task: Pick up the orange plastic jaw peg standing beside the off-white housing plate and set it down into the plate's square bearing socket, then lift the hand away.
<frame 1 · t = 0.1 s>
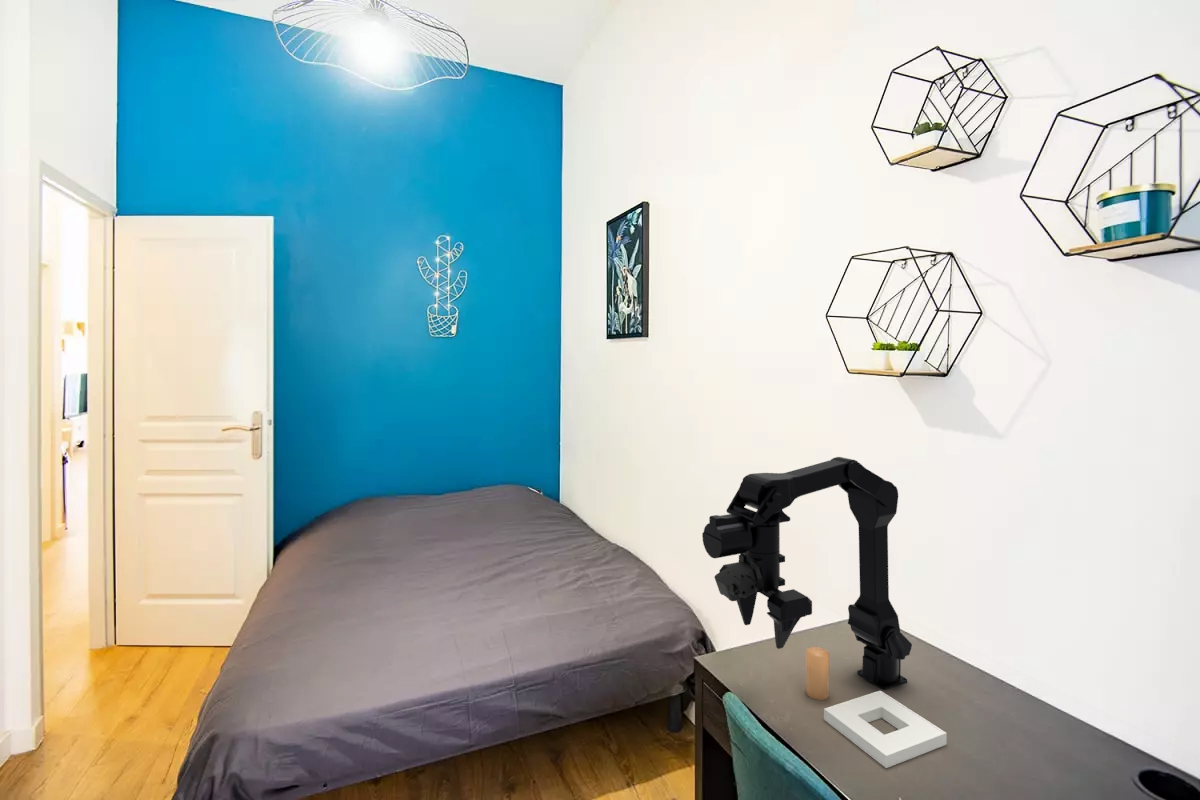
hand: (762, 635, 102), 14 cm above the table, tool pointing down, fingers open, 9 cm apart
jaw peg: (817, 693, 109), on the table
housing: (882, 731, 98), on the table
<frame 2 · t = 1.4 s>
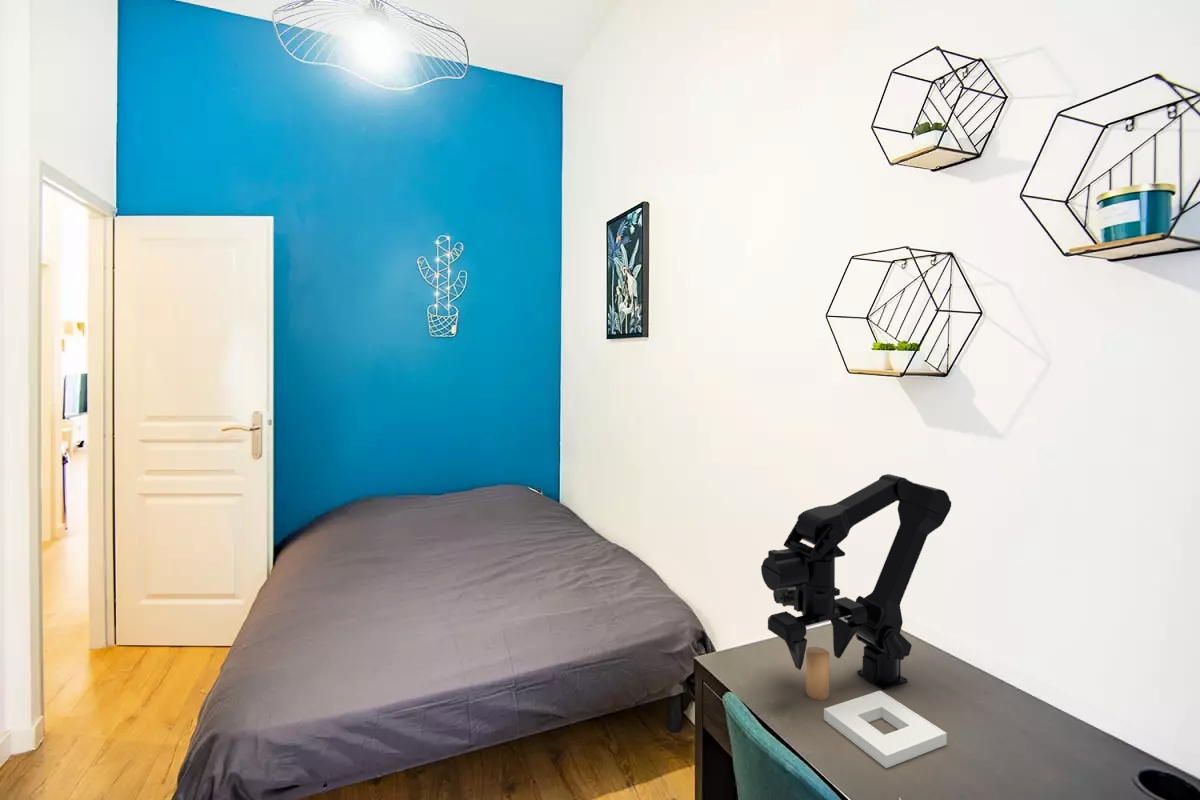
hand: (818, 662, 108), 6 cm above the table, tool pointing down, fingers open, 9 cm apart
nothing on the table moved.
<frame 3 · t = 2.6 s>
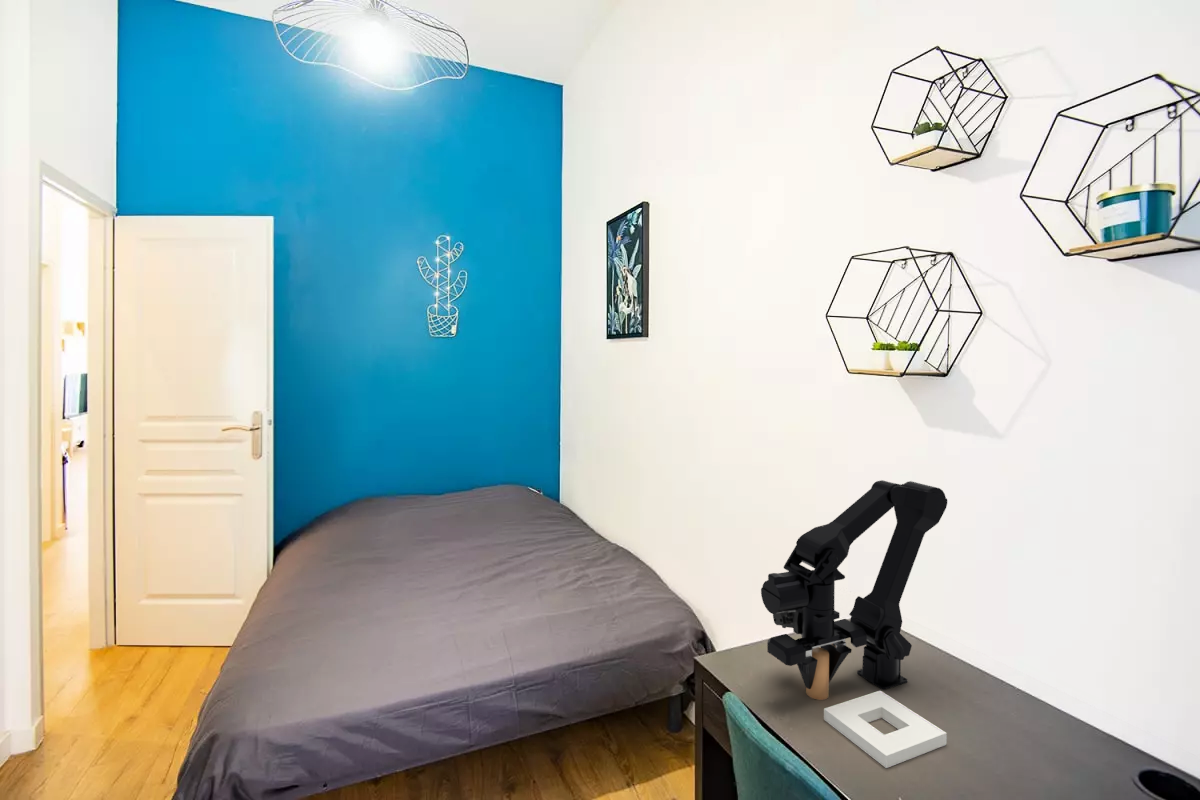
hand: (817, 685, 109), 2 cm above the table, tool pointing down, fingers closed on jaw peg, 4 cm apart
jaw peg: (817, 693, 109), on the table, touching gripper
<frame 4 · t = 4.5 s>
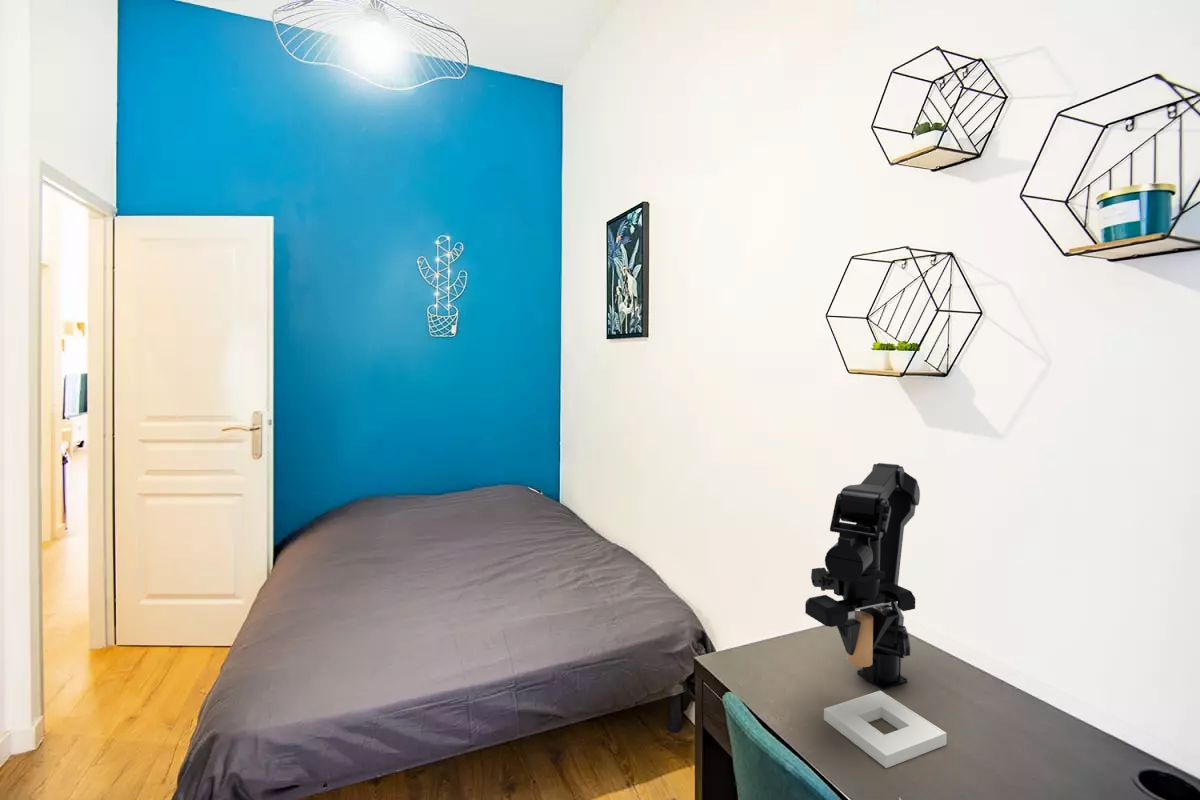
hand: (860, 651, 100), 12 cm above the table, tool pointing down, fingers closed on jaw peg, 4 cm apart
jaw peg: (859, 660, 100), point 10 cm above the table, touching gripper
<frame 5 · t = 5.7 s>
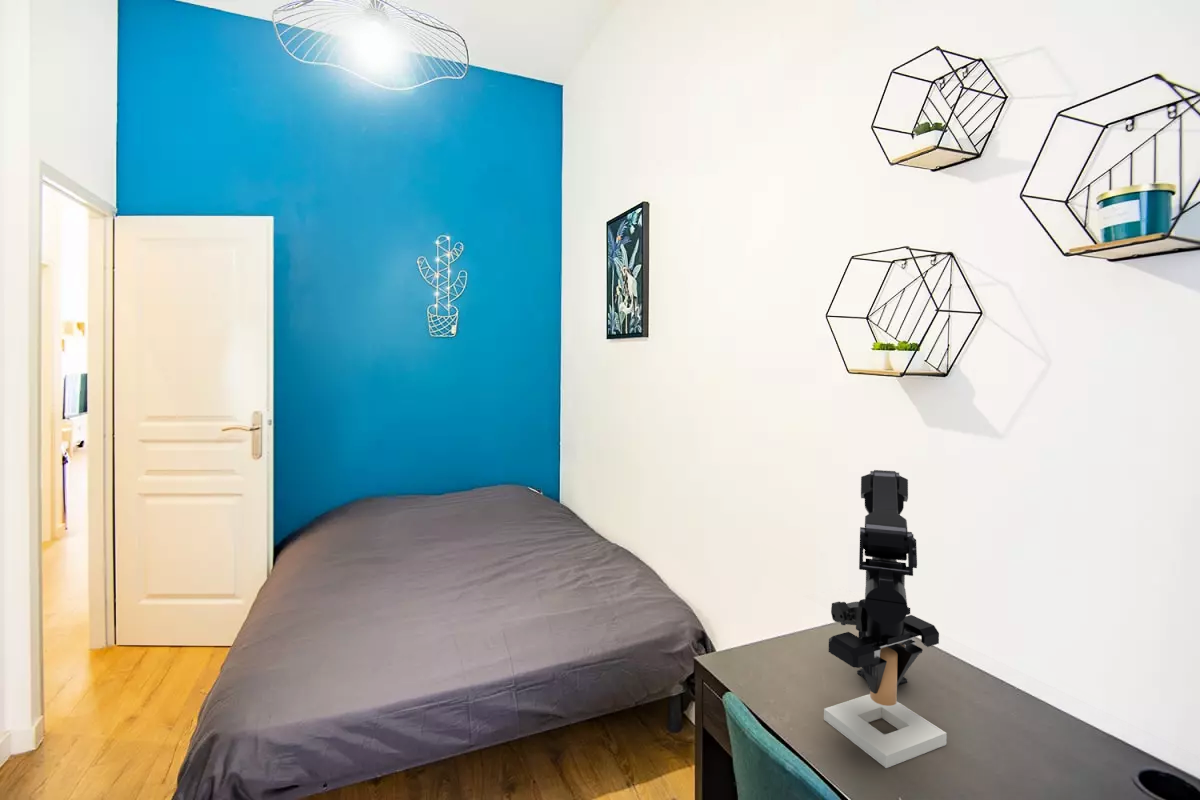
hand: (883, 689, 97), 7 cm above the table, tool pointing down, fingers closed on jaw peg, 4 cm apart
jaw peg: (883, 698, 97), point 6 cm above the table, touching gripper
when the fingers open (3 cm above the table, at t = 6.7 s): jaw peg drops 2 cm, resting in housing.
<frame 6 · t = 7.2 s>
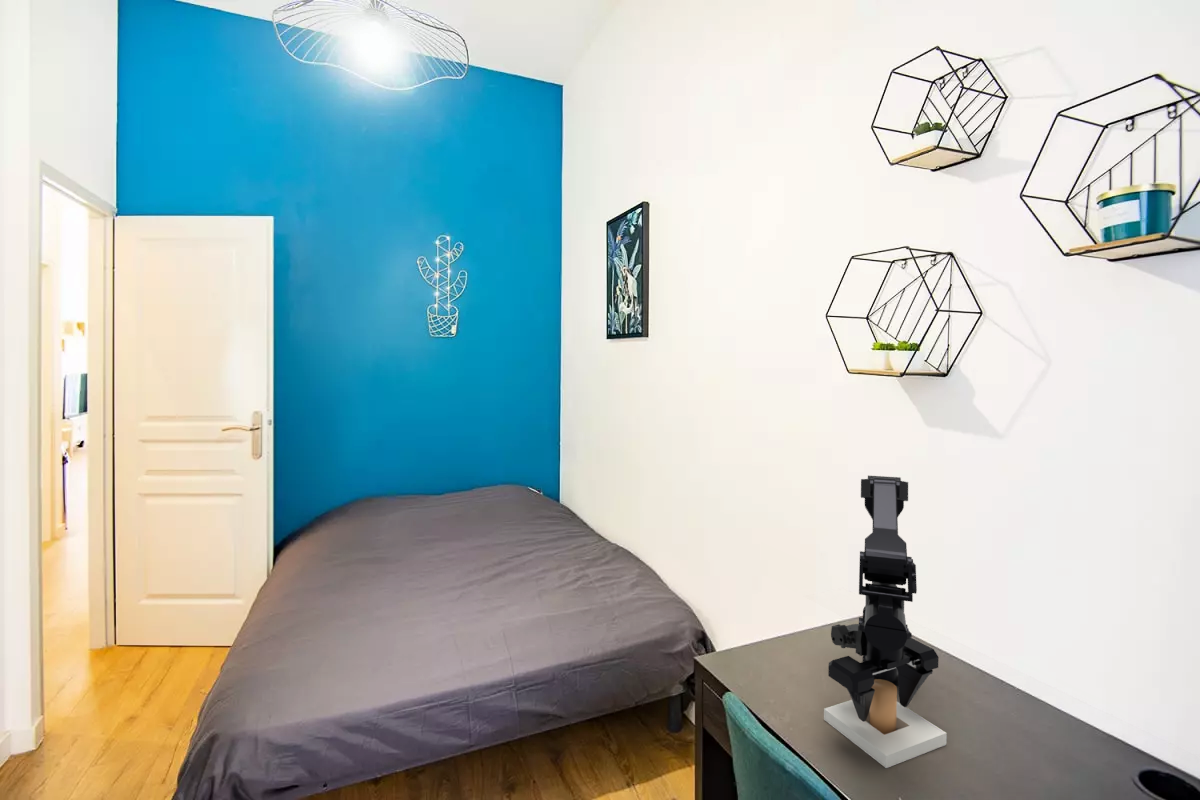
hand: (883, 712, 97), 3 cm above the table, tool pointing down, fingers open, 9 cm apart
jaw peg: (882, 731, 98), resting in housing
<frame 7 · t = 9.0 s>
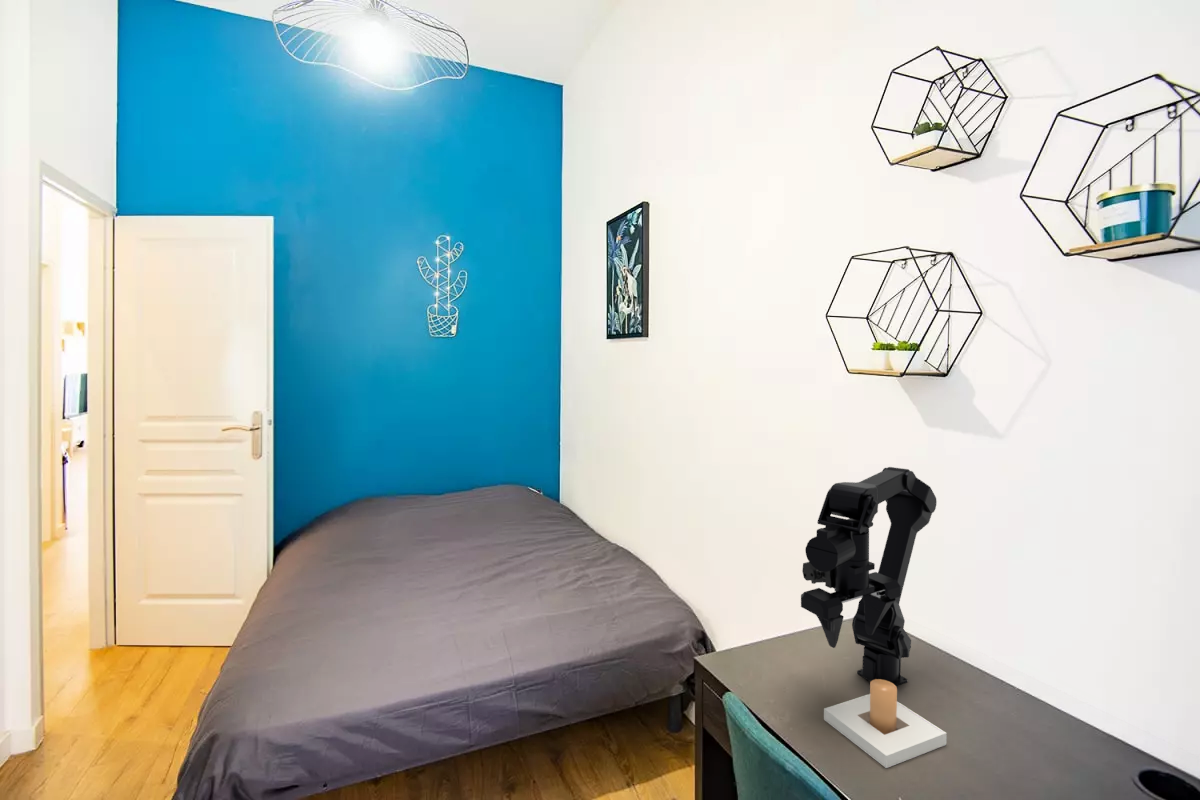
hand: (851, 640, 105), 12 cm above the table, tool pointing down, fingers open, 9 cm apart
nothing on the table moved.
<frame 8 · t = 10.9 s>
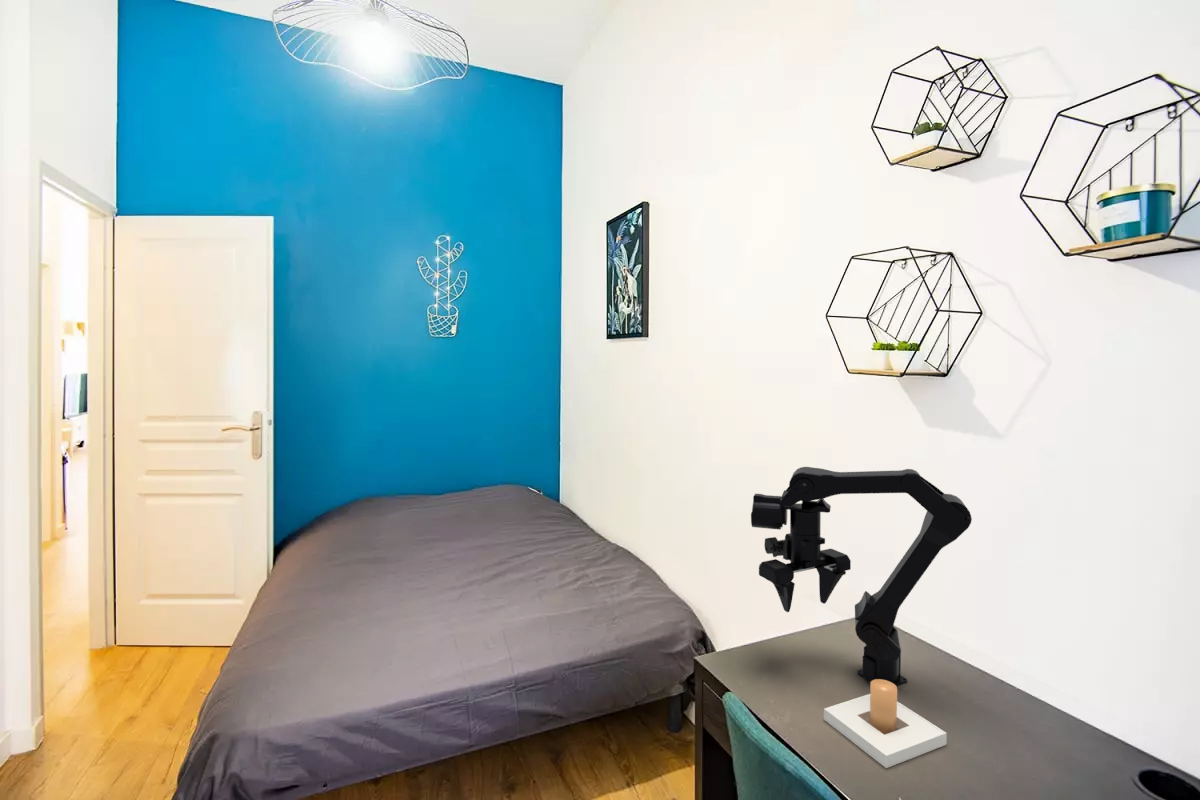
hand: (805, 607, 118), 12 cm above the table, tool pointing down, fingers open, 9 cm apart
nothing on the table moved.
at the end: jaw peg 0.0 cm off-centre on the housing, point 0.0 cm above the housing's base; jaw peg tilted 0°; the gripper is holding nothing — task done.
